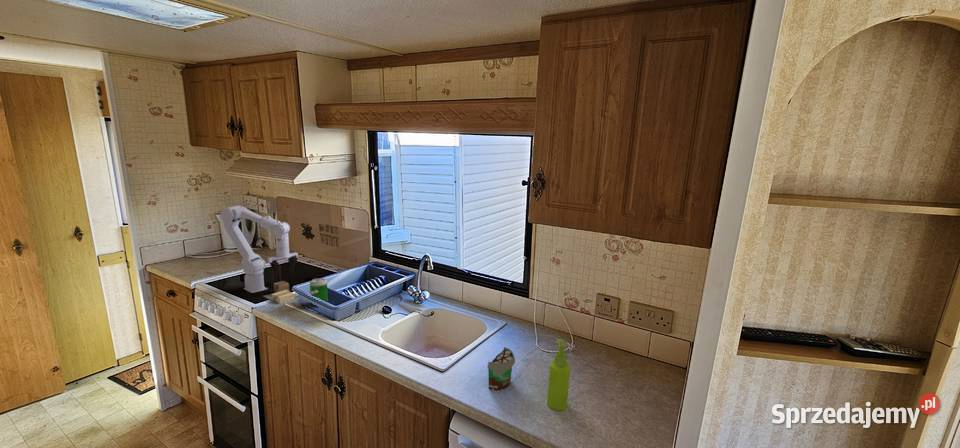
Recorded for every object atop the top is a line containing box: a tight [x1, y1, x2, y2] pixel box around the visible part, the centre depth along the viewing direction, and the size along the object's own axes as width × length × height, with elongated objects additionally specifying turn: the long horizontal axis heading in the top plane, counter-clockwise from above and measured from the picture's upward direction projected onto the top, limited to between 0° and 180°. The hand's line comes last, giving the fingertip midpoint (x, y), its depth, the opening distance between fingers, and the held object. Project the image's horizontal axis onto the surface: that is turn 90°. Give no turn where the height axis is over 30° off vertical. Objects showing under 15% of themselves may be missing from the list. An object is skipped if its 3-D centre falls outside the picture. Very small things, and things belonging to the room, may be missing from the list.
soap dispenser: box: [546, 338, 571, 411], centre depth 121 cm, size 6×7×20 cm
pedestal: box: [271, 290, 295, 305], centre depth 192 cm, size 7×7×3 cm
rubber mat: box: [263, 292, 299, 305], centre depth 196 cm, size 15×11×1 cm
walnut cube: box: [273, 280, 290, 293], centre depth 200 cm, size 5×5×5 cm
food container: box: [487, 346, 516, 391], centre depth 130 cm, size 12×6×10 cm, turn 151°
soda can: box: [309, 277, 329, 302], centre depth 189 cm, size 8×8×12 cm
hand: (284, 273), depth 202 cm, fingers open, 7 cm apart
